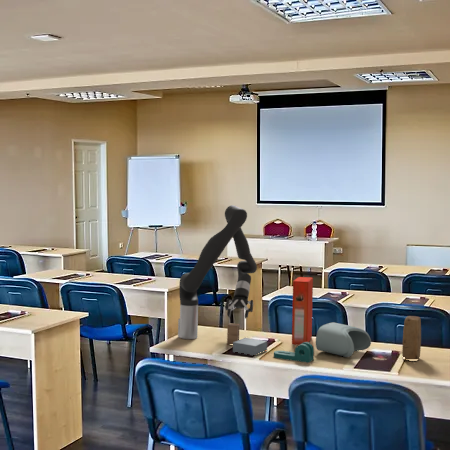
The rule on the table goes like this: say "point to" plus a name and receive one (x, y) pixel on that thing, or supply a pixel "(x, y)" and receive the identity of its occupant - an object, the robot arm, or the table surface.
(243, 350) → the slate block
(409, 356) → the block
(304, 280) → the file binder
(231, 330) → the walnut block
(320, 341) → the grey hollow scoop
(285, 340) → the table surface
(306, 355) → the bracket
